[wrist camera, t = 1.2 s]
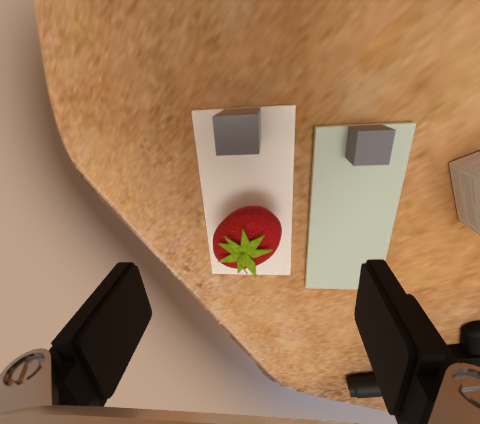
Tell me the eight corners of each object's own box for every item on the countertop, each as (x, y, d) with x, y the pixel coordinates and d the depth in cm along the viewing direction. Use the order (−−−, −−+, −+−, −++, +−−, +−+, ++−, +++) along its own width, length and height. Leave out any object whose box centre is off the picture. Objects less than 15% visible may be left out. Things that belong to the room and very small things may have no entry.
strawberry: (289, 217, 31) (301, 268, 22) (238, 248, 33) (230, 306, 24) (260, 178, 29) (260, 216, 20) (208, 213, 32) (187, 262, 23)
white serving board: (193, 110, 27) (171, 118, 20) (294, 104, 25) (303, 111, 19) (214, 268, 35) (202, 309, 29) (289, 270, 34) (294, 312, 28)
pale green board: (314, 125, 26) (321, 132, 23) (411, 121, 25) (434, 128, 22) (304, 282, 35) (308, 305, 31) (375, 284, 34) (388, 308, 30)
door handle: (335, 332, 35) (353, 407, 41) (509, 309, 31) (502, 397, 37) (330, 313, 38) (347, 386, 44) (488, 291, 34) (484, 374, 40)
